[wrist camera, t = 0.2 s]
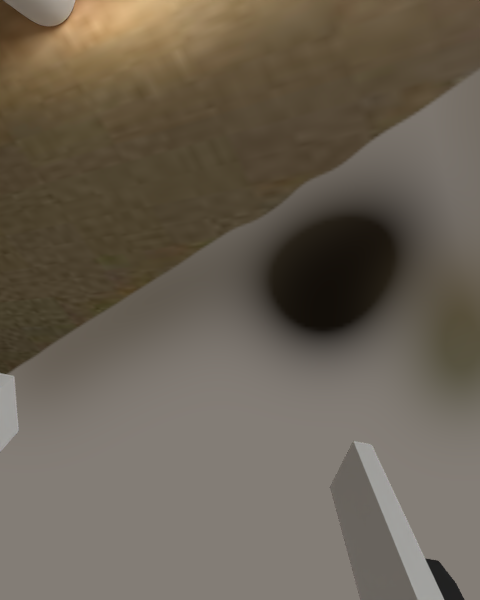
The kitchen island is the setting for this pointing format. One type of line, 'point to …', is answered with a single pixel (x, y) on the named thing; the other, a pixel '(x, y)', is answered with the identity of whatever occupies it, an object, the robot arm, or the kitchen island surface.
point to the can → (44, 10)
